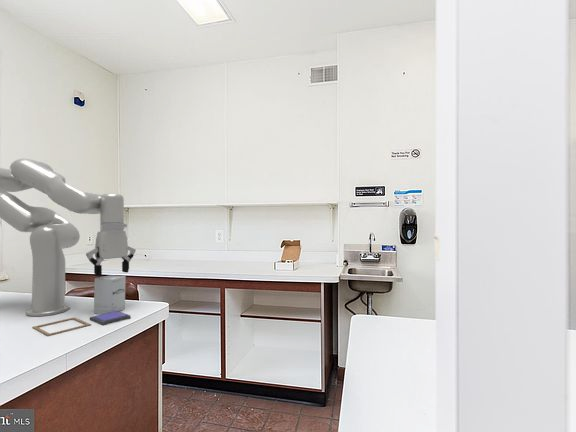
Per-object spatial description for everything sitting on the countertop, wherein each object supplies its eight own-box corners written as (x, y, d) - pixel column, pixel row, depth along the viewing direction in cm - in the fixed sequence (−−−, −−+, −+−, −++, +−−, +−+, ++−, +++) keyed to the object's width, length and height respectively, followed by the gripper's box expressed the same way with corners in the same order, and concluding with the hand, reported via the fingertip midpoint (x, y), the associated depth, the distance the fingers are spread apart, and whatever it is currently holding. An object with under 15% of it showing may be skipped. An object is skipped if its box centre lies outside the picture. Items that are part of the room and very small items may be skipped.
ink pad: (89, 320, 105) (89, 316, 105) (116, 313, 113) (116, 310, 113) (103, 325, 100) (103, 321, 100) (130, 318, 108) (130, 314, 108)
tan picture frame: (32, 328, 97) (32, 326, 97) (74, 318, 107) (74, 317, 107) (47, 336, 91) (47, 334, 91) (90, 325, 100) (90, 324, 100)
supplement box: (110, 315, 111) (111, 279, 111) (93, 313, 113) (93, 278, 113) (125, 309, 118) (126, 275, 119) (108, 307, 120) (109, 274, 120)
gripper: (129, 226, 125) (129, 269, 125) (81, 228, 111) (81, 276, 110) (140, 227, 121) (140, 271, 121) (91, 228, 106) (92, 279, 106)
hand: (112, 274), depth 116 cm, fingers open, 9 cm apart
